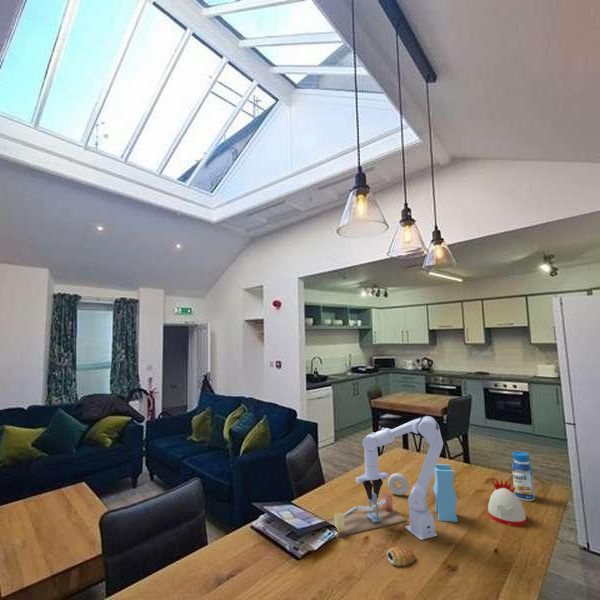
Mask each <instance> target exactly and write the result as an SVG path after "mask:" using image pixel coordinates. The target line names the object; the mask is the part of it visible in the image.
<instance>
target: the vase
mask: <svg viewBox="0 0 600 600" xmlns="http://www.w3.org/2000/svg"><path fill="white" fill-rule="evenodd" d="M451 468H452V465H451V464H444V463H443V464H442V463H437V464H436V467H435V470H434V472H433V474H434V483H433V488H432V489H433V492H434V493H433V494H434V496H435V497H434V498H435V508H434V512H435V513H438V514H437V515H438V516H437V521H440V522H441V521H443V522H452V523H453V522H456V523H457V522H458V517H457V510H456V509H457V508H456V505H457V500H458V498H457V493H456V491H455V488H454V475H455V470H451Z"/></svg>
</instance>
